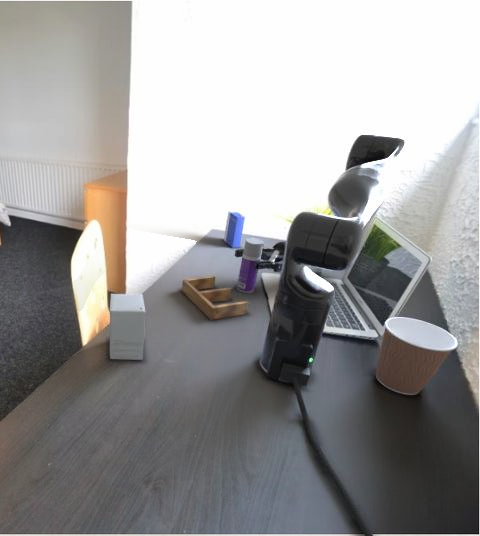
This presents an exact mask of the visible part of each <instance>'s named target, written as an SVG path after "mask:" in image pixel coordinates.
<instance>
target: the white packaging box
mask: <svg viewBox="0 0 480 536" xmlns="http://www.w3.org/2000/svg"><path fill="white" fill-rule="evenodd" d="M109 299H110V301H109V359H110V360H126V361H127V360H128V361H129V360H130V361H134V360H135V361H143V358H144V343H145V327H146V326H145V325H146V307H145V301H144V295H143V294H142V293H138V294H137V293H110V298H109Z"/></svg>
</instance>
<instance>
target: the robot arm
mask: <svg viewBox="0 0 480 536" xmlns="http://www.w3.org/2000/svg"><path fill="white" fill-rule="evenodd" d="M410 153H411V142H410V139H408V138H407V137H404V136H400V135H394V134H393V135H392V134H383V133H375V132H363V133H361V134H359V135H358V136H357V137H356V138H355V139H354V141H353V143H352V145H351V146H350V149H349V152H348V154H347V158H346V163H345V168H344V172H342V173H341V174H340V175H339V177H338V178H337V179H336V181H335V182H334V183H333V184H332V186H331V188H330V189H329V191H328V193H327V205H328V208H329V210H330V212H331V213H332V214H326V213H319V212H313V211H305V210H304V211H301V212H299V213H298V214H296V215H295V217H294V218H293V219H292V221H291V223H290V225H289V229H288V232H287V235H286V240H283V241H278V242H277V243H275V244H274V245H273V246H267V247H266V246H264V245H265V244H264V243H263V248H262V254H261V259H260V261H256V262H255V263H254V267H253V268H254V269H255V270H258V271H259V270H265V269H267V270H271V271H272V270H273V272H275V273H279V278H278V283H277V284H278V285H277V288H276V292H275V297H274V300H273V303H272V304H273V305H272V309H271V313H270V317H269V321H268V326H267V329H266V334H265V338H264V342H263V346H262V347H263V348H262V351H261V356H260V357H259V361H258V363H259V364H258V365H259V367H260V369H261V370H262V371H263V373H264V374H266V378H267V379H270V380H274V381H278V382H282V383H285V384H288V385H293V389H294V394H295V397H296V400H297V404H298V407H299V410H300V414H301V416H302V420H303V423H304V426H305V429H306V432H307V435H308V437H309V440H310V442H311V445H312V447H313V449H314V451H315V453H316V456H317V457H318V459H319V460H320V462H321V463H320V464H321V465H322V466H323V467H324V469H325V472H327V474H328V476H329V478H330V479H331V481H332V482H333V484H334V486H335V487H336V488H337V490H338V492H339V494H340V496H341V498H342V499H343V501H344V502H345V504H346V506H347V507H348V509H349V511H350V513H351V514H352V515H353V519H355V521H356V523H357V525H358V526H359V528H360V530H361V532H362V534H363V535H364V536H374V534H373V533H372V530H371V529H370V527H369V526H368V524H367V523H366V521H365V519H364V517H363V516H362V514H361V512H360V510H359V509H358V507H357V505H356V503H355V502H354V501H353V499H352V498H351V495H350V494H349V492H348V491H347V489H346V487H345V485H344V484H343V482H342V481H341V479H340V478H339V476H338V475H337V473H336V472H335V470H334V468H333V467H332V465H331V464H330V462H329V461H328V459H327V457H326V455H325V454H324V451H323V450H322V447H321V446H320V444H319V442H318V439H317V436H316V434H315V432H314V429H313V426H312V423H311V419H310V417H309V414H308V411H307V407H306V404H305V400H304V398H303V394H302V390H301V387H302V386H304V387H307V386H308V383H309V381H310V377H311V374H312V373H311V372H312V369H313V367H314V366H313V365H314V362H315V359H316V356H317V353H318V349H319V346H320V343H321V340H322V337H323V333H324V332H325V331H324V330H325V328H326V325H327V321H328V318H329V316H330V311H331V310H332V306H333V302H334V299H335V296H336V290H335V288H334V286H333V285H332V284H331V283H330V282H329V281H327V280H326V279H324V278H323V277H321V276H319V275H318V274H317V273H316V272H314V271H313V270H312V269H311V268H310V267H313V268H318V269H322V270H325V271H328V272H329V271H330V272H344V271H346V270H348V269H350V268H351V267H352V266H353V264H354V263H355V262H356V261H355V260H356V258H357V257H358V255H359V252H360V250H361V248H362V245H363V243H364V244H365V239H366V237H367V235H368V232H369V229H370V226H371V224H372V223H373V219H374V218H375V216H376V215H377V213H378V211H379V210H380V208H381V207H382V205H383V203H384V201H385V200H386V198H387V196H388V193H389V191H390V188H391V187H392V184H393V182H394V180H395V179H396V177H397V175H399V173H400V171H401V170H402V169H403V167H404V166H405V164H406V162H407V161H408V158H409V156H410ZM243 251H244V248H238V249H236V250H235V251H234V257H235V258H242V256H243ZM354 261H355V262H354Z"/></svg>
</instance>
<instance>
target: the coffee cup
mask: <svg viewBox="0 0 480 536" xmlns="http://www.w3.org/2000/svg"><path fill="white" fill-rule="evenodd" d="M384 327H385V328H384V333H383V336H382V341H381V346H380V349H379V350H380V351H379V355H378V358H377V364H376V368H375V377H376V379H377V381H378V382H379V383H380V384H381V385H382V386H383V387H385V388H387V389H389V390H390V391H392V392H395V393H398V394H402V395H407V396H415V395H418V394H419V393H420V392H421V390H423V389H424V388H426V385H427V384H428V383H429V382H430V380H431V379H432V378H433V377H434V376H435V375H436V374H437V372H438V371H439V370H440V368H441V366H442V365H443V363H444V362H445V361H446V359H447V358H448V356H449V355H450V354H451V353H452V352H453V350H455V349H457V348H458V345H459V344H458V343H459V342H458V340H457V339H456V337H455V336H454V335H452V333H450V332H448V331H447V330H446V329H444V328H442V327H440V326H438V325H435V324H433V323H430V322H428V321H424V320H420V319H416V318H413V317H403V316H394V317H390V318H388V319H386V320H385V321H384Z"/></svg>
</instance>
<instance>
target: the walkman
mask: <svg viewBox="0 0 480 536" xmlns="http://www.w3.org/2000/svg"><path fill="white" fill-rule="evenodd" d="M227 212H228V213H227V218H226V224H225V229H224V236H223V241H224V242H225V243H226V244H227V245H229V246H230V247H231V248H232V249H235V248H238V249H239V248H240V247H241V241H242V236H243V230H244V229H243V228H244V226H245V225H244V224H245V219H246V216H244V214H242V213H239V212H238V211H236V210H228V211H227Z"/></svg>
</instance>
